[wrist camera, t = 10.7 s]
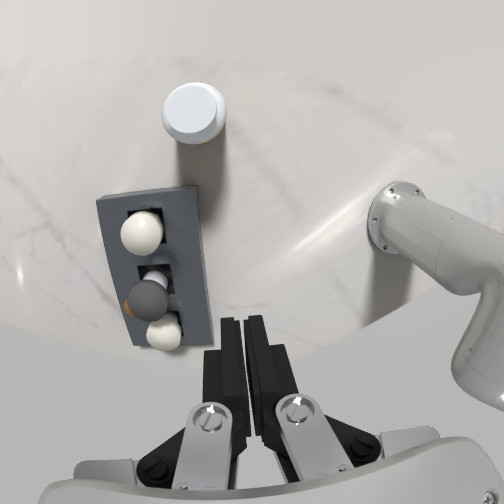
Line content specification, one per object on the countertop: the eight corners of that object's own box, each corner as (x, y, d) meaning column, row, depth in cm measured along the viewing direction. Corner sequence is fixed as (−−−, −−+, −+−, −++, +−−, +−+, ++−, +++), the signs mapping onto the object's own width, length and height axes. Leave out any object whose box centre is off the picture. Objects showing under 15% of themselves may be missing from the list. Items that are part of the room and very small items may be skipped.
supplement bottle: (213, 150, 35) (209, 156, 23) (168, 134, 33) (142, 132, 22) (233, 106, 33) (239, 89, 21) (187, 89, 31) (171, 66, 20)
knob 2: (181, 301, 43) (176, 324, 37) (186, 326, 45) (183, 350, 39) (150, 302, 42) (142, 325, 37) (157, 327, 44) (150, 351, 39)
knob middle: (170, 264, 37) (162, 286, 31) (175, 296, 39) (170, 321, 34) (135, 266, 37) (122, 288, 31) (142, 298, 39) (132, 322, 33)
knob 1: (166, 202, 37) (157, 213, 31) (170, 237, 39) (162, 254, 33) (131, 205, 36) (117, 217, 31) (137, 240, 38) (124, 257, 33)
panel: (104, 195, 35) (92, 202, 32) (196, 185, 37) (194, 190, 33) (137, 334, 45) (132, 349, 42) (213, 332, 46) (213, 347, 43)
